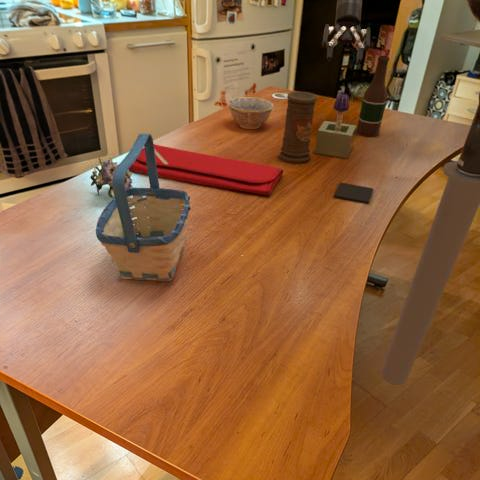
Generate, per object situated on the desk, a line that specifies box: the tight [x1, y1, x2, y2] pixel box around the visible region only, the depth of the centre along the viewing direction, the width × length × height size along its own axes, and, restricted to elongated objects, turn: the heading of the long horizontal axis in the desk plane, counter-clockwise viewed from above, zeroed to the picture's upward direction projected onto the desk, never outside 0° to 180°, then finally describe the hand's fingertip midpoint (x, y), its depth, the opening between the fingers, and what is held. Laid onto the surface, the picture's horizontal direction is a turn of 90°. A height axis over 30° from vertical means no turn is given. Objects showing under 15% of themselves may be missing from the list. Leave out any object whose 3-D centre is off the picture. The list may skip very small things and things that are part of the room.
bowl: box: [227, 96, 275, 130], centre depth 160 cm, size 16×16×8 cm
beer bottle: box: [356, 55, 390, 137], centre depth 155 cm, size 8×8×24 cm
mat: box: [333, 182, 374, 205], centre depth 124 cm, size 9×9×1 cm
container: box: [279, 91, 318, 164], centre depth 136 cm, size 9×9×18 cm
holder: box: [314, 120, 357, 159], centre depth 146 cm, size 10×10×7 cm
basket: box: [95, 133, 192, 282], centre depth 86 cm, size 21×16×24 cm
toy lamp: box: [333, 93, 350, 132], centre depth 143 cm, size 5×5×17 cm
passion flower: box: [89, 157, 134, 199], centre depth 114 cm, size 11×11×12 cm
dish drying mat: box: [128, 143, 284, 196], centre depth 128 cm, size 16×41×4 cm, turn 72°
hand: (344, 61), depth 140 cm, fingers open, 8 cm apart
